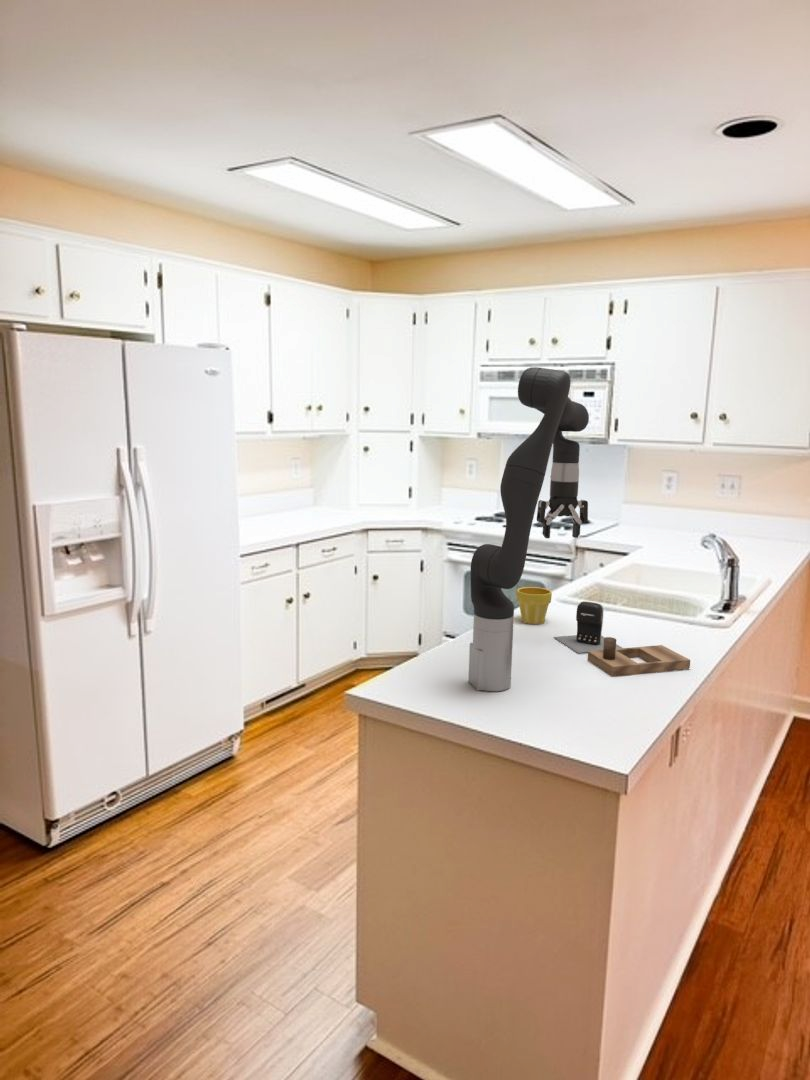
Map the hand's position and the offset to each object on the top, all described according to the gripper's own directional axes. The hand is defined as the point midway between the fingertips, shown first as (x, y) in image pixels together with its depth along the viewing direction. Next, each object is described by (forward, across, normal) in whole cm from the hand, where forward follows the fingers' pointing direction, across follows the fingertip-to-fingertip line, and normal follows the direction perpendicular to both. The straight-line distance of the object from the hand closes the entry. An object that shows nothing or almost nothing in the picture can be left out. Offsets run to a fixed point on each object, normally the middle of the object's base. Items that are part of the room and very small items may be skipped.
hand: (561, 537), depth 204 cm
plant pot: (+29, +1, +17) cm, 34 cm away
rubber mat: (+29, +7, -6) cm, 31 cm away
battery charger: (+29, +7, -7) cm, 30 cm away
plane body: (+29, +11, -24) cm, 40 cm away
